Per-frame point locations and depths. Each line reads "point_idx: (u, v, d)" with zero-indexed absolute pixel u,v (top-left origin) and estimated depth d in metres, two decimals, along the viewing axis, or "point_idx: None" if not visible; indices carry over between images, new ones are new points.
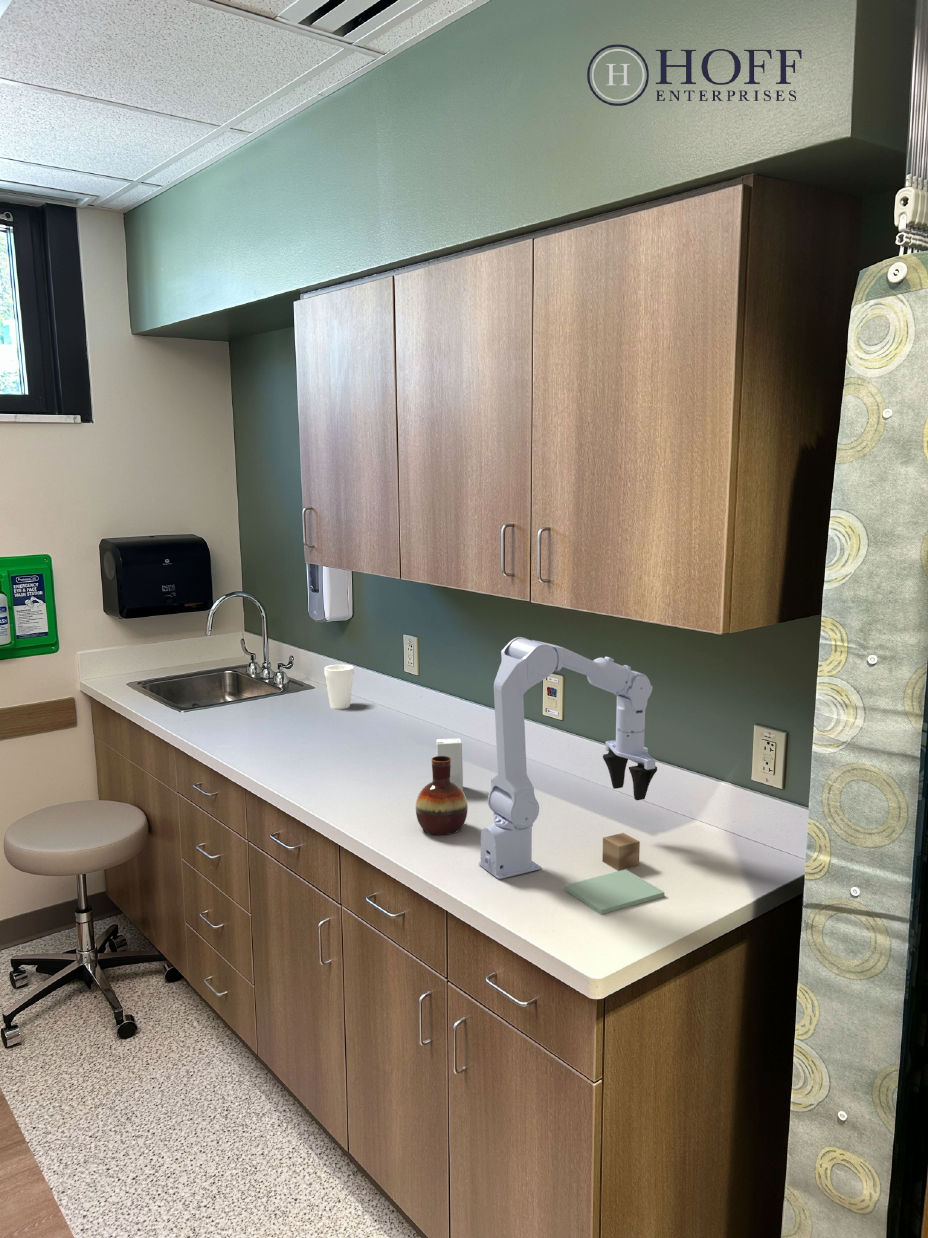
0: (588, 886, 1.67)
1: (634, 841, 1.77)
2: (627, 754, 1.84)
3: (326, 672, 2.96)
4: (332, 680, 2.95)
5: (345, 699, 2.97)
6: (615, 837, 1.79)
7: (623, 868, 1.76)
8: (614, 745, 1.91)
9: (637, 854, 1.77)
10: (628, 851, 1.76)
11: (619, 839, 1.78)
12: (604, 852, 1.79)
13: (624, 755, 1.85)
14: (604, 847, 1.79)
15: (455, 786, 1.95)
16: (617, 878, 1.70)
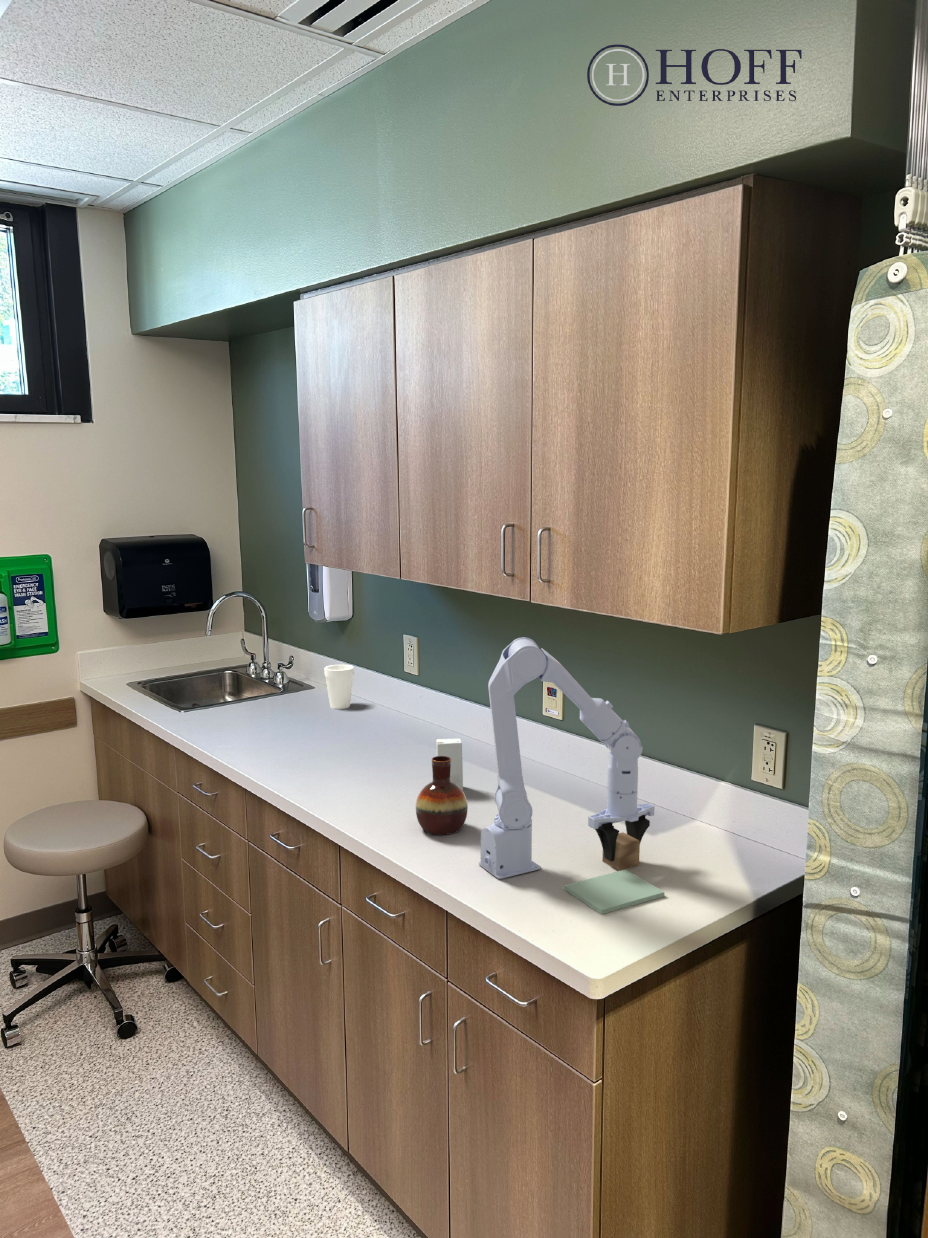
0: (588, 886, 1.67)
1: (634, 840, 1.77)
2: (605, 809, 1.78)
3: (326, 672, 2.96)
4: (332, 680, 2.95)
5: (345, 699, 2.97)
6: None
7: (623, 867, 1.76)
8: (638, 807, 1.80)
9: (637, 853, 1.77)
10: (628, 851, 1.76)
11: (619, 839, 1.78)
12: None
13: None
14: None
15: (455, 786, 1.95)
16: (617, 878, 1.70)
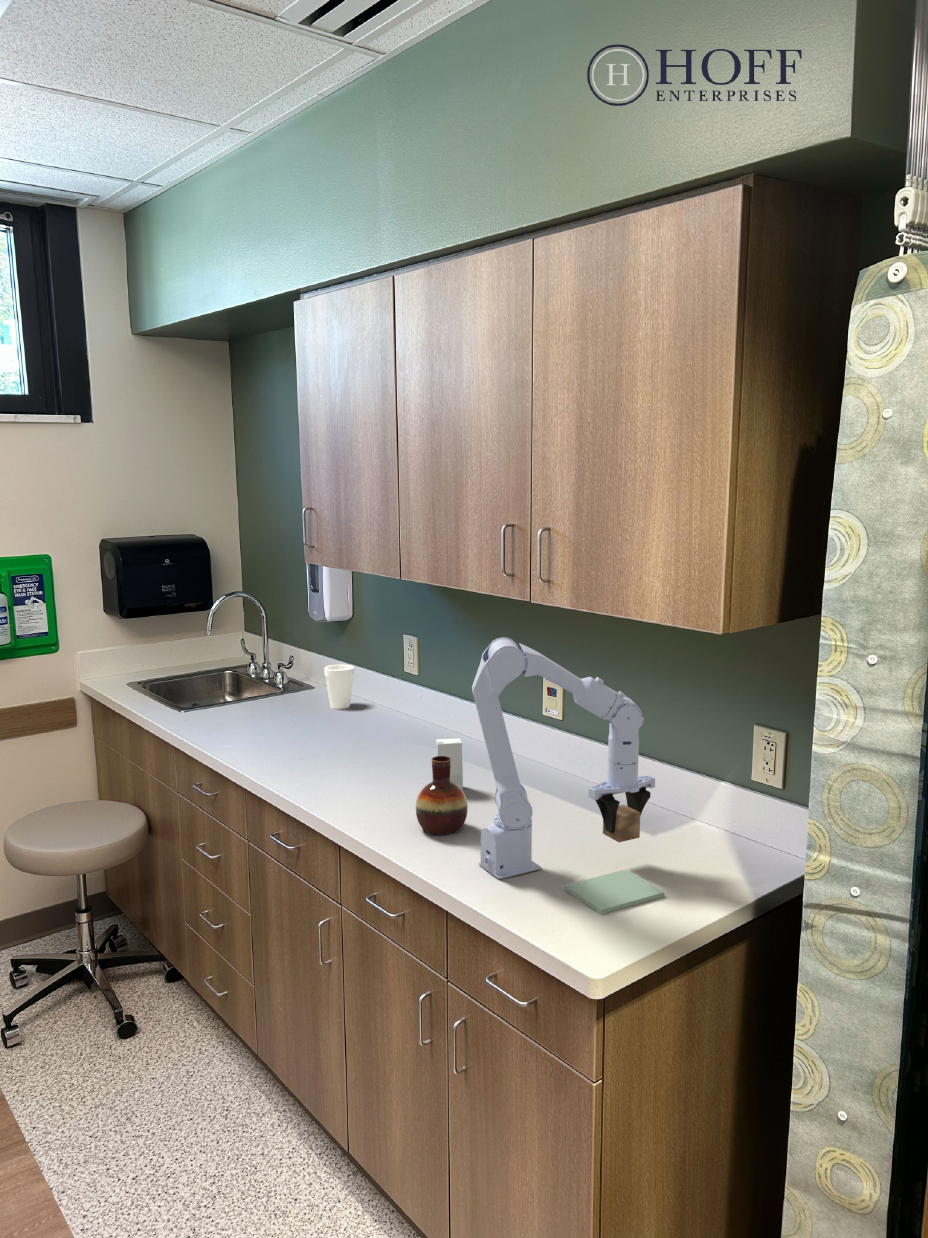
0: (588, 886, 1.67)
1: (635, 812, 1.76)
2: (606, 781, 1.77)
3: (326, 672, 2.96)
4: (332, 680, 2.95)
5: (345, 699, 2.97)
6: None
7: (624, 839, 1.75)
8: (638, 778, 1.79)
9: (638, 825, 1.76)
10: (629, 822, 1.75)
11: (619, 811, 1.77)
12: None
13: None
14: None
15: (455, 786, 1.95)
16: (617, 878, 1.70)
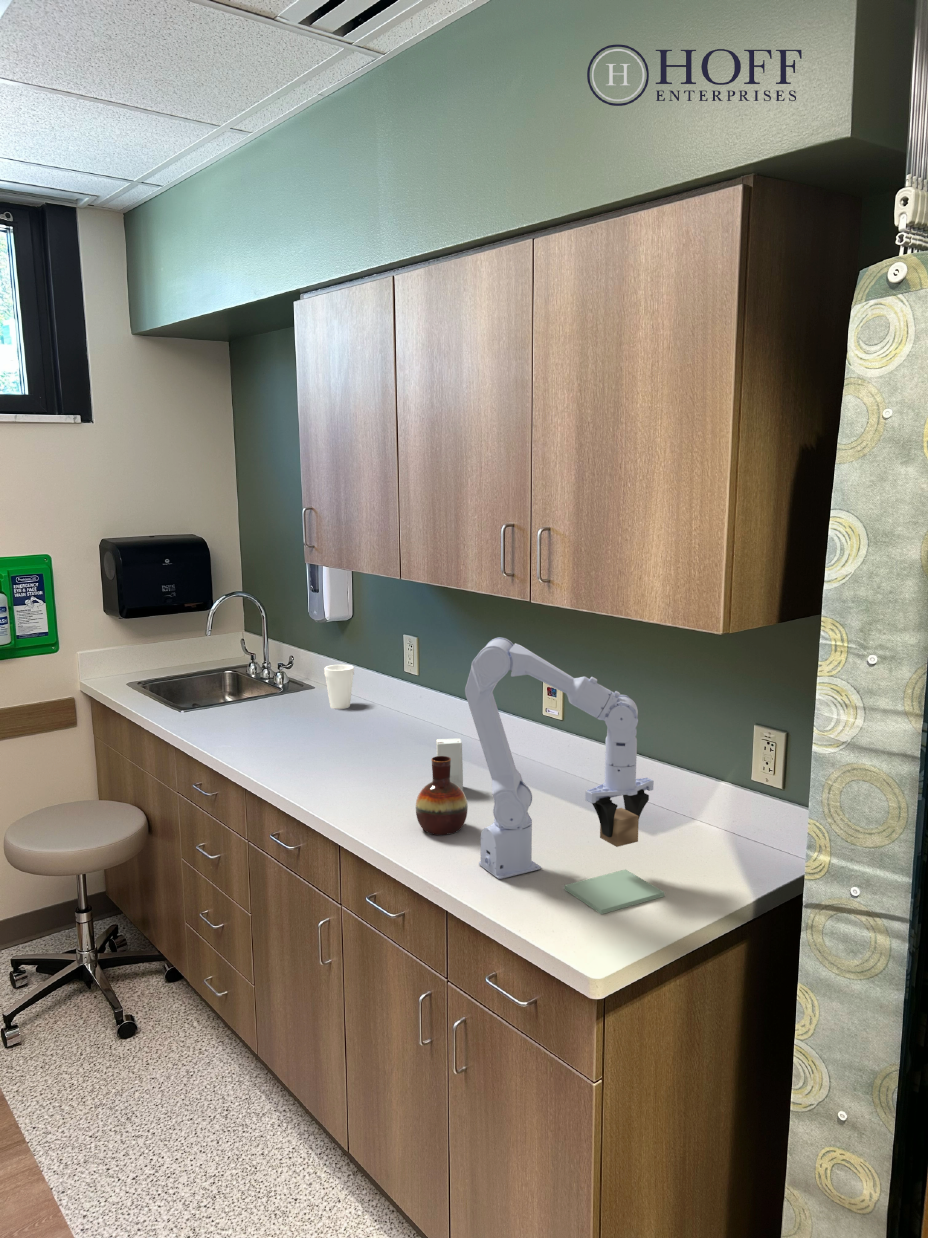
0: (588, 886, 1.67)
1: (633, 816, 1.71)
2: (603, 784, 1.72)
3: (326, 672, 2.96)
4: (332, 680, 2.95)
5: (345, 699, 2.97)
6: None
7: (621, 843, 1.70)
8: (636, 781, 1.74)
9: (636, 829, 1.71)
10: (627, 826, 1.70)
11: (617, 814, 1.72)
12: None
13: None
14: None
15: (455, 786, 1.95)
16: (617, 878, 1.70)
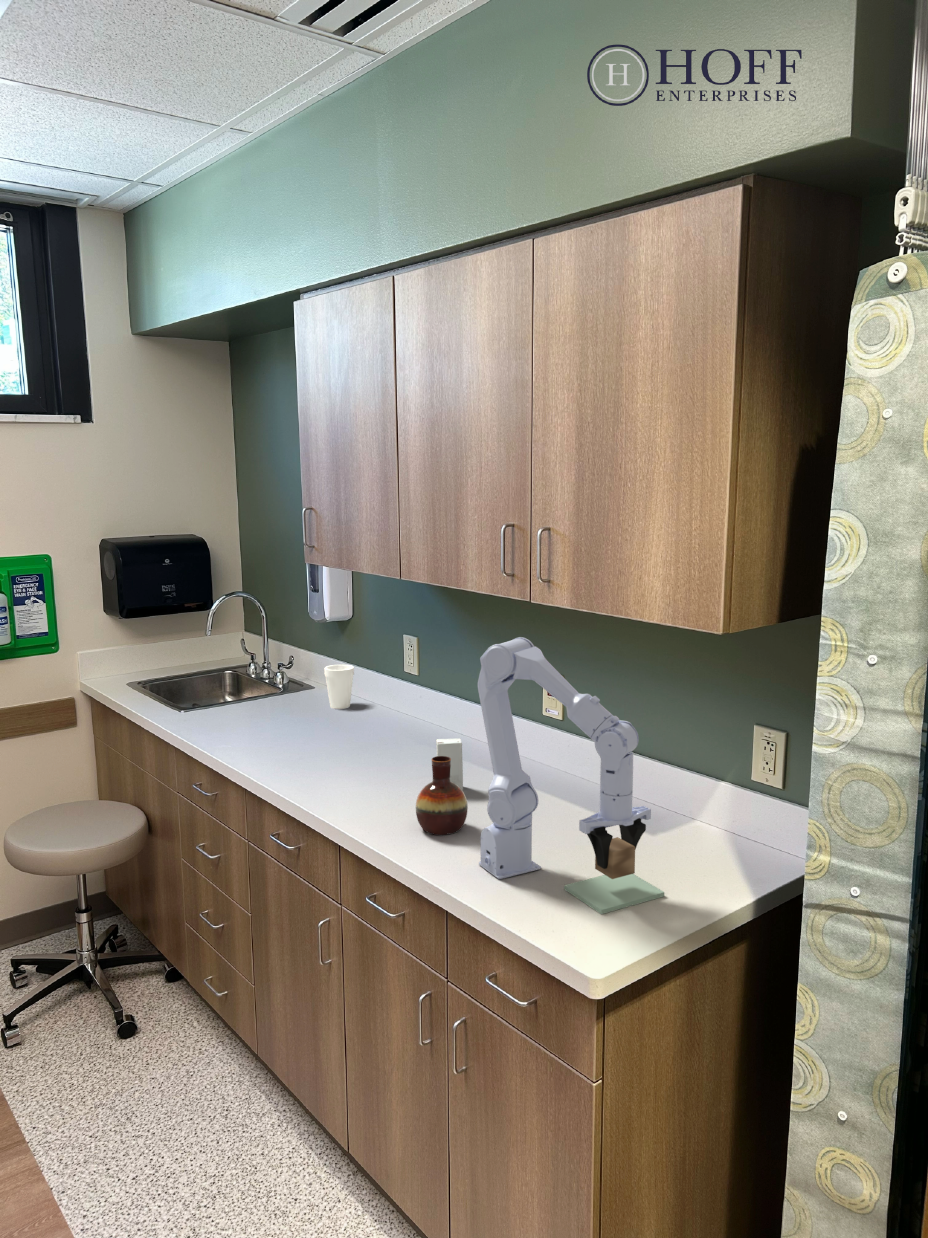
0: (588, 886, 1.67)
1: (629, 846, 1.64)
2: (598, 813, 1.65)
3: (326, 672, 2.96)
4: (332, 680, 2.95)
5: (345, 699, 2.97)
6: None
7: (617, 875, 1.63)
8: (633, 809, 1.67)
9: (632, 860, 1.64)
10: (623, 857, 1.63)
11: (613, 845, 1.65)
12: None
13: None
14: None
15: (455, 786, 1.95)
16: (617, 878, 1.70)
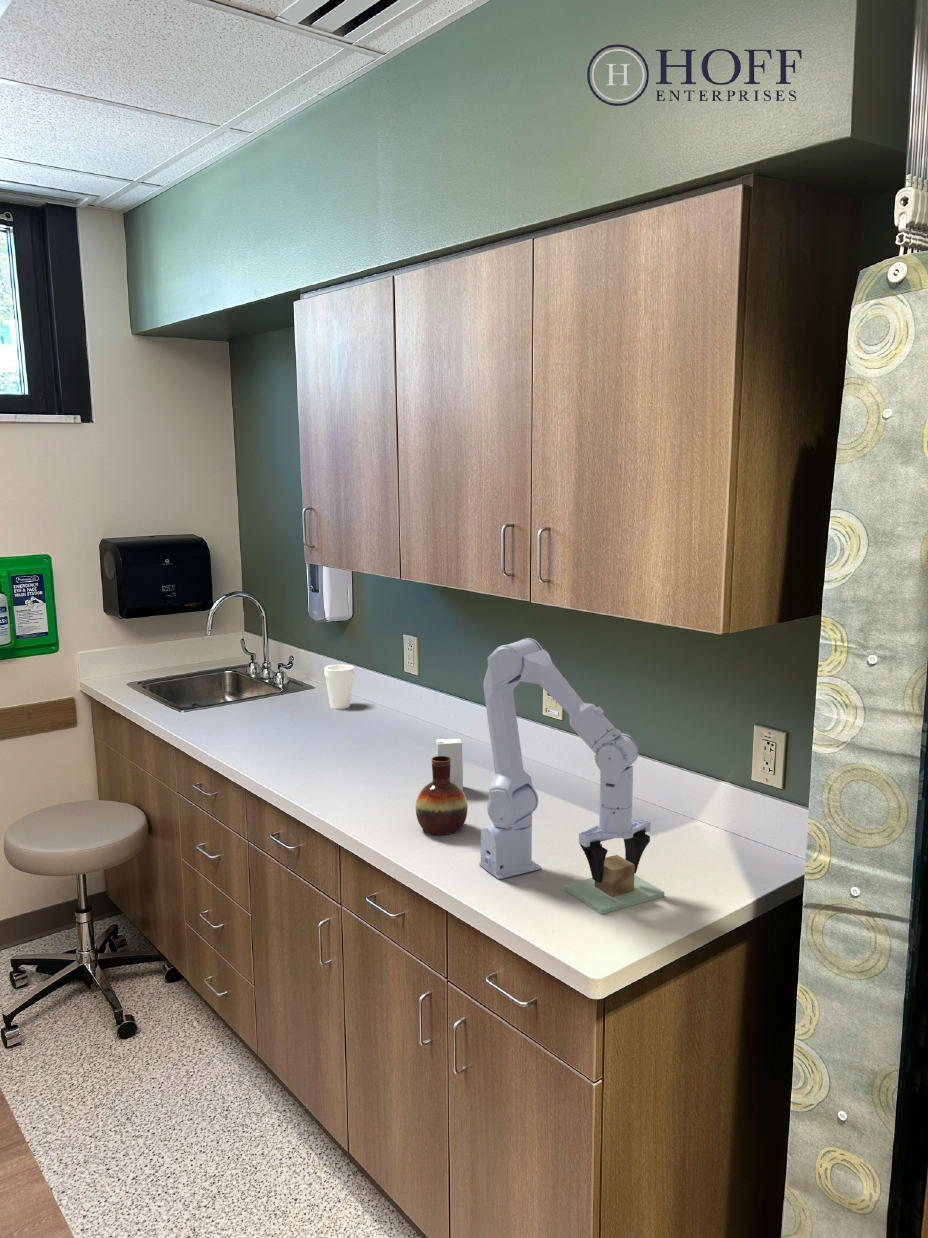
0: (588, 886, 1.67)
1: (629, 864, 1.65)
2: (597, 825, 1.65)
3: (326, 672, 2.96)
4: (332, 680, 2.95)
5: (345, 699, 2.97)
6: (608, 860, 1.67)
7: (617, 893, 1.63)
8: (633, 822, 1.67)
9: (632, 878, 1.65)
10: (622, 875, 1.63)
11: (612, 862, 1.65)
12: None
13: None
14: None
15: (455, 786, 1.95)
16: None
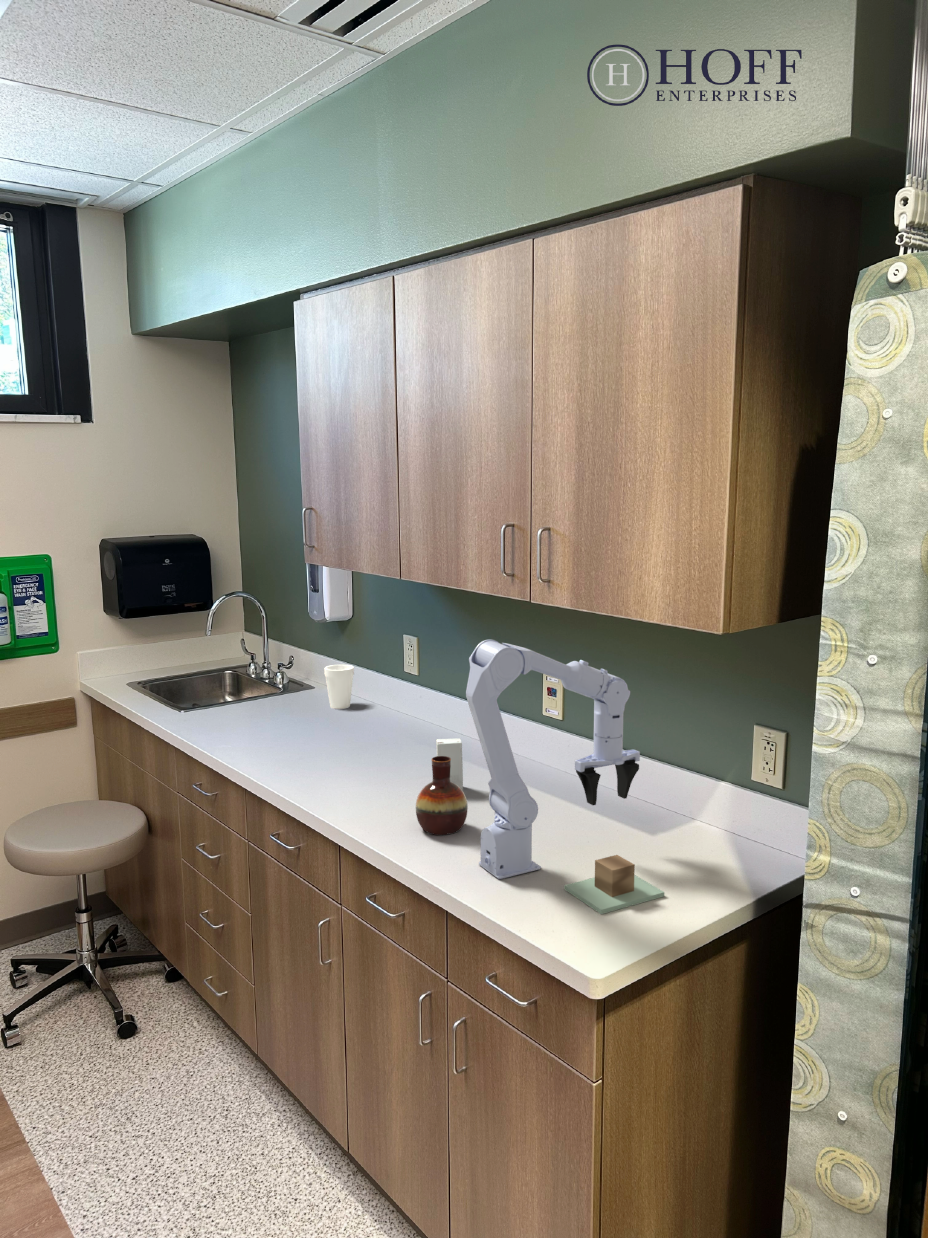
0: (588, 886, 1.67)
1: (629, 864, 1.65)
2: (592, 754, 1.83)
3: (326, 672, 2.96)
4: (332, 680, 2.95)
5: (345, 699, 2.97)
6: (608, 860, 1.67)
7: (617, 893, 1.63)
8: (624, 752, 1.85)
9: (632, 878, 1.65)
10: (622, 875, 1.63)
11: (612, 862, 1.65)
12: (596, 876, 1.66)
13: None
14: (596, 870, 1.66)
15: (455, 786, 1.95)
16: None
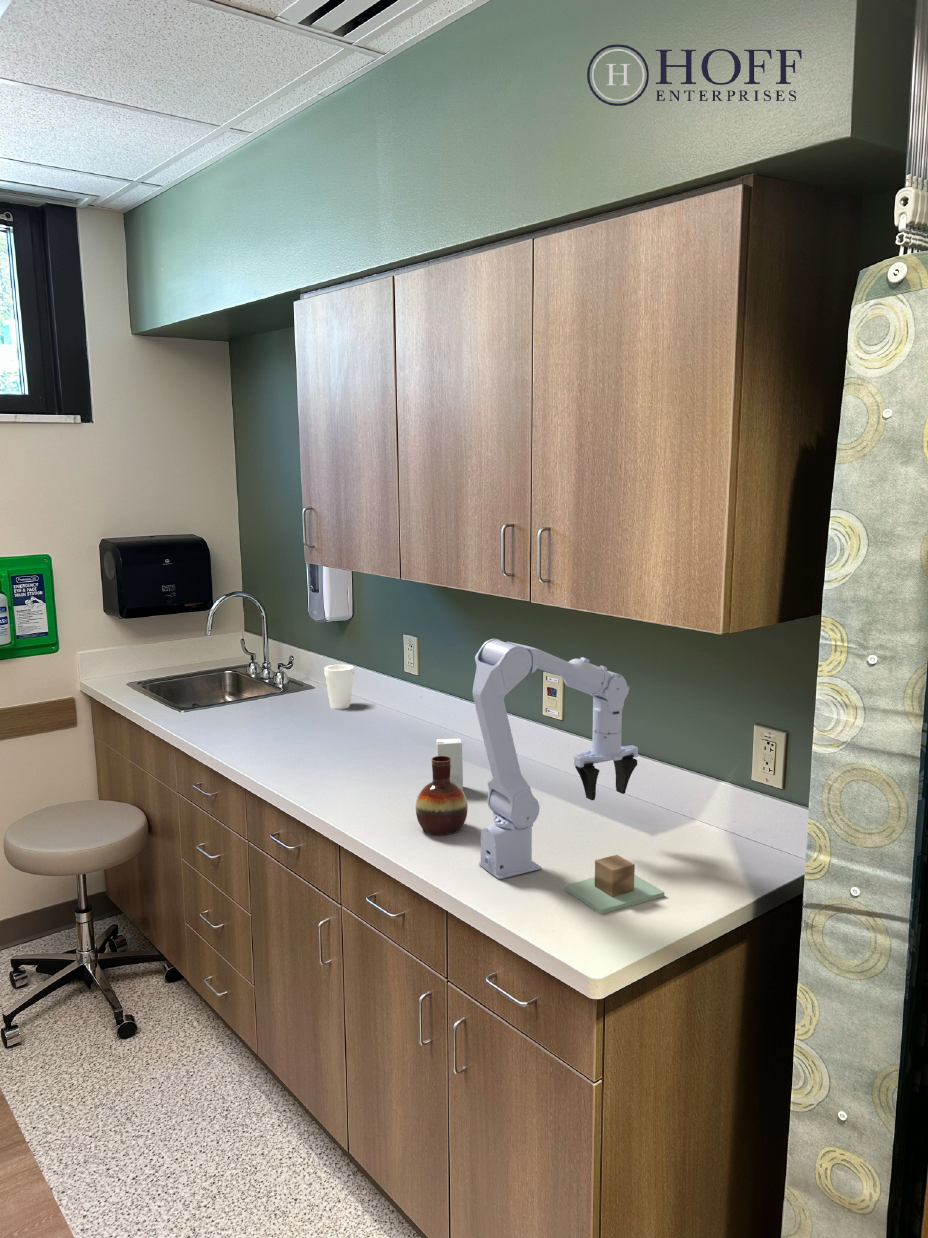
0: (588, 886, 1.67)
1: (629, 864, 1.65)
2: (590, 750, 1.86)
3: (326, 672, 2.96)
4: (332, 680, 2.95)
5: (345, 699, 2.97)
6: (608, 860, 1.67)
7: (617, 893, 1.63)
8: (622, 748, 1.88)
9: (632, 878, 1.65)
10: (622, 875, 1.63)
11: (612, 862, 1.65)
12: (596, 876, 1.66)
13: None
14: (596, 870, 1.66)
15: (455, 786, 1.95)
16: None
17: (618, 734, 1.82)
